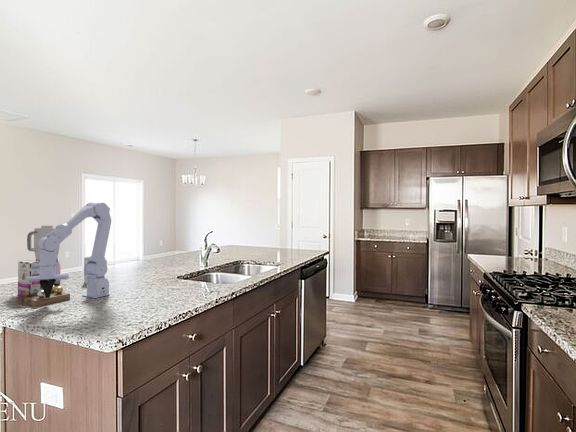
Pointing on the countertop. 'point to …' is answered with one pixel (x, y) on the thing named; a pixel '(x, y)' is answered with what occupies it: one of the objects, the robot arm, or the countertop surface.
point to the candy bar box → (28, 270)
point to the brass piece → (58, 290)
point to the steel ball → (41, 294)
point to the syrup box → (84, 266)
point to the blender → (38, 235)
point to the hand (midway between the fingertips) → (47, 297)
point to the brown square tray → (42, 299)
